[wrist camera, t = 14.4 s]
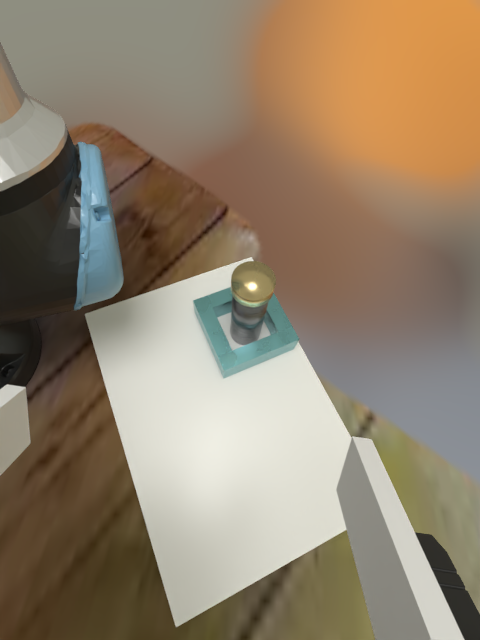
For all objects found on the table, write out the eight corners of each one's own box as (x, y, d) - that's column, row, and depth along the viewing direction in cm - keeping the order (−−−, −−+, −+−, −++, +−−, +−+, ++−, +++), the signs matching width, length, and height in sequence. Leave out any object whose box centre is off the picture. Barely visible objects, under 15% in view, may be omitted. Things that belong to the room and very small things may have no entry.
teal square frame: (194, 312, 42) (192, 300, 39) (260, 288, 44) (263, 275, 41) (223, 378, 38) (223, 370, 36) (294, 349, 40) (299, 339, 38)
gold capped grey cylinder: (223, 323, 41) (224, 269, 31) (253, 311, 42) (263, 255, 32) (236, 352, 40) (242, 305, 29) (267, 339, 41) (283, 290, 30)
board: (87, 317, 42) (84, 313, 41) (250, 261, 47) (251, 257, 46) (177, 623, 30) (175, 627, 29) (384, 504, 35) (388, 505, 34)
